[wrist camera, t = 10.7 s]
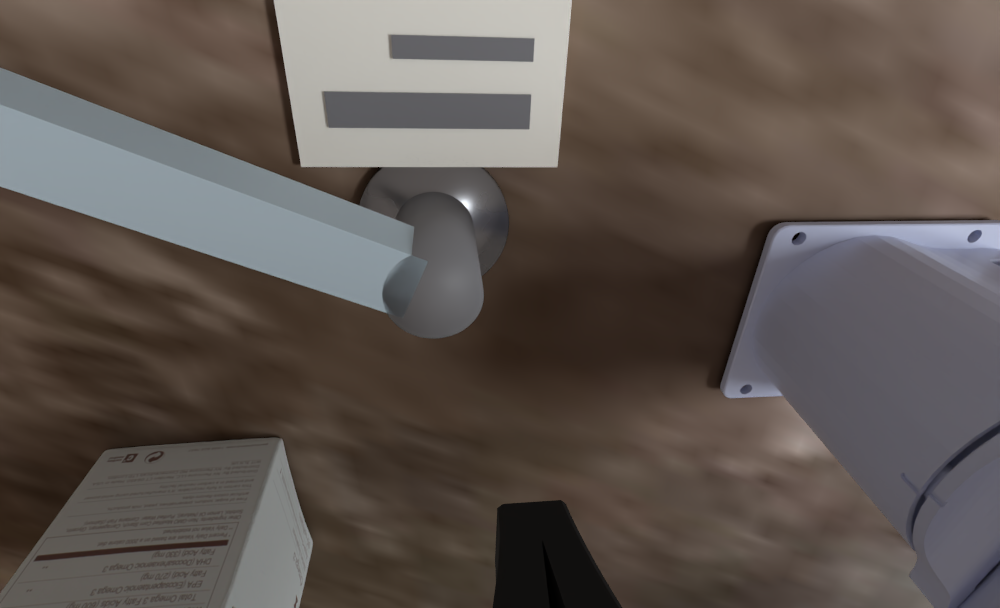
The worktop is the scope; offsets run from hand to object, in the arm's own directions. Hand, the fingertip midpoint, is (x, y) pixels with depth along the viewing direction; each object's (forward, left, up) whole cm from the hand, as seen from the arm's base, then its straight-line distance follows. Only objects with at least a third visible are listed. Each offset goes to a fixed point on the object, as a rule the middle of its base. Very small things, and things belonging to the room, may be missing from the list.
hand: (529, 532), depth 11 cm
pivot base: (+2, -3, -10) cm, 11 cm away
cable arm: (+8, -6, -9) cm, 14 cm away
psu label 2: (+2, -7, -10) cm, 13 cm away
